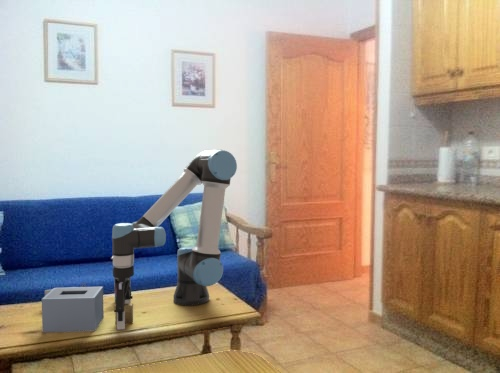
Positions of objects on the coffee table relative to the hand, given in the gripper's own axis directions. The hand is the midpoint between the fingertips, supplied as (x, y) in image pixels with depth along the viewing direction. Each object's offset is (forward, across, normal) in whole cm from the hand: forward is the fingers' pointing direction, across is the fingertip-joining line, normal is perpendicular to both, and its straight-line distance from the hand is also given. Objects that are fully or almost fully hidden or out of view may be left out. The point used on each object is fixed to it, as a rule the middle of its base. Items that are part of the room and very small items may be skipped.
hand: (124, 322), depth 175 cm
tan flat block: (0, 0, 0) cm, 0 cm away
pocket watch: (0, -19, -18) cm, 26 cm away
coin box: (0, 0, -18) cm, 18 cm away
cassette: (+1, -21, -29) cm, 36 cm away
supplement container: (0, -26, -5) cm, 26 cm away
